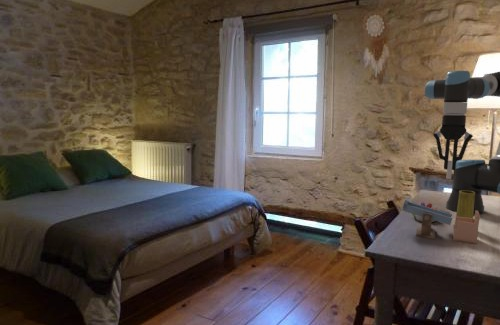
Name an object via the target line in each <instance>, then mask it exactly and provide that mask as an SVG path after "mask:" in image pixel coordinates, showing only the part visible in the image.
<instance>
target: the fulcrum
mask: <svg viewBox="0 0 500 325" xmlns="http://www.w3.org/2000/svg"><path fill="white" fill-rule="evenodd" d="M432 223H433V222H432V214H428V213H423V217H422V221H421V225H420V226H419V225H418V226H417V229H416V233H415V236H416V237H417V238H418V237H419V238H426V239H432V240H436V228H433V227H432Z"/></svg>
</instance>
